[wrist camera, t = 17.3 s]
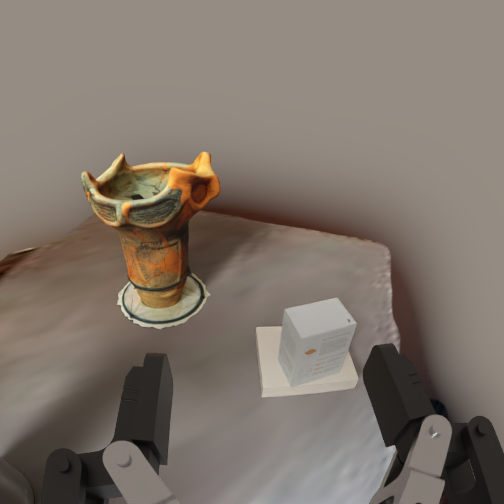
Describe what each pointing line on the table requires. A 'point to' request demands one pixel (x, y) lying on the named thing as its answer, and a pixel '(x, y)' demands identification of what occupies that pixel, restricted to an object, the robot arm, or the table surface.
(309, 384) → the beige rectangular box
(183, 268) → the decorative vase
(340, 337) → the small box
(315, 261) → the table surface
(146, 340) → the table surface
